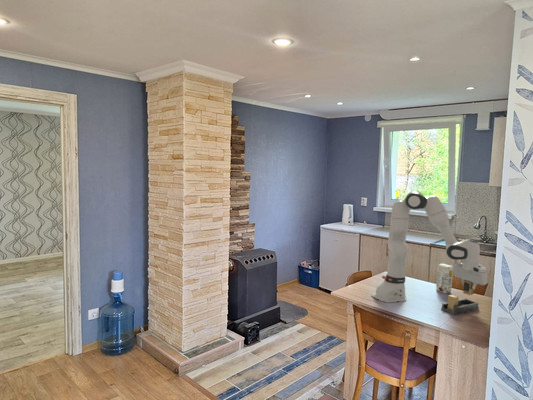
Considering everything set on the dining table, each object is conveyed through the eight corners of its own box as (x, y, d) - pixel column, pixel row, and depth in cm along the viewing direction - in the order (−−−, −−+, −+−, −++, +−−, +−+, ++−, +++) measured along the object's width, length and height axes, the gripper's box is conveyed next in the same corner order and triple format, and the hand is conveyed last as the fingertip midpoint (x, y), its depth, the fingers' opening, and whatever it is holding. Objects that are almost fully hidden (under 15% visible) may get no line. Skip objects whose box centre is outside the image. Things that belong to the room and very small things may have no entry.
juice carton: (445, 294, 250) (448, 267, 248) (434, 290, 257) (436, 264, 255) (452, 292, 253) (454, 265, 252) (441, 288, 261) (443, 262, 259)
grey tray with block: (454, 315, 214) (455, 299, 213) (441, 309, 222) (442, 294, 221) (478, 309, 224) (479, 294, 223) (464, 304, 232) (466, 289, 231)
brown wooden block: (467, 291, 228) (468, 279, 227) (473, 294, 224) (474, 281, 223) (462, 293, 225) (463, 280, 225) (468, 295, 222) (469, 282, 221)
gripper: (451, 262, 231) (450, 283, 232) (482, 270, 213) (481, 293, 214) (458, 261, 234) (456, 282, 235) (489, 269, 216) (488, 292, 217)
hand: (468, 287), depth 224 cm, fingers closed on brown wooden block, 4 cm apart
